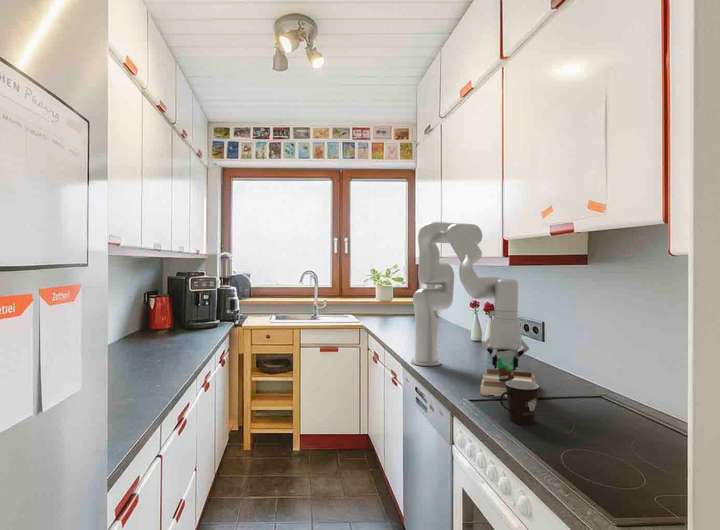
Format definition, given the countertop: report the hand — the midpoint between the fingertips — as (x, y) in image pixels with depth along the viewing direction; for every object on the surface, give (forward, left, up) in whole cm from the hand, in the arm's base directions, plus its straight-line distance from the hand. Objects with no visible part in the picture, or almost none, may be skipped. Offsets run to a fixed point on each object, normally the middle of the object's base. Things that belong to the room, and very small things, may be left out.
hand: (505, 367), depth 154 cm
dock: (0, +1, -7) cm, 7 cm away
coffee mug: (+30, +4, -7) cm, 31 cm away
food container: (0, +1, -3) cm, 3 cm away
